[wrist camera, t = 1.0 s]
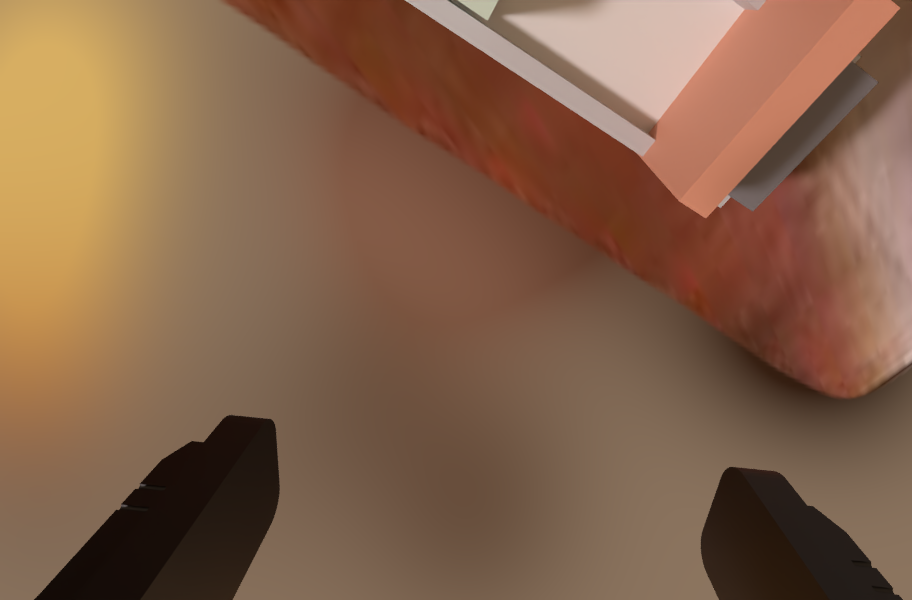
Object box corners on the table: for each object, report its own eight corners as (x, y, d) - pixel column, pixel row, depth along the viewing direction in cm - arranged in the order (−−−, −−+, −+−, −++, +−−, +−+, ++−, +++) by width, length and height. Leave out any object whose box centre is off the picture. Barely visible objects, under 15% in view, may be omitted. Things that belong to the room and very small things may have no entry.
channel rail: (343, -46, 26) (266, -67, 17) (424, -267, 21) (376, -440, 13) (697, 188, 31) (774, 262, 22) (822, 48, 26) (976, 72, 18)
